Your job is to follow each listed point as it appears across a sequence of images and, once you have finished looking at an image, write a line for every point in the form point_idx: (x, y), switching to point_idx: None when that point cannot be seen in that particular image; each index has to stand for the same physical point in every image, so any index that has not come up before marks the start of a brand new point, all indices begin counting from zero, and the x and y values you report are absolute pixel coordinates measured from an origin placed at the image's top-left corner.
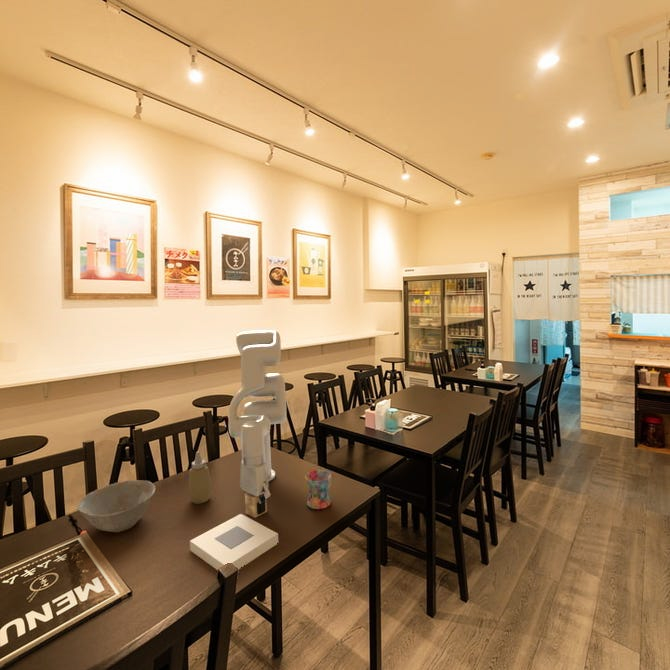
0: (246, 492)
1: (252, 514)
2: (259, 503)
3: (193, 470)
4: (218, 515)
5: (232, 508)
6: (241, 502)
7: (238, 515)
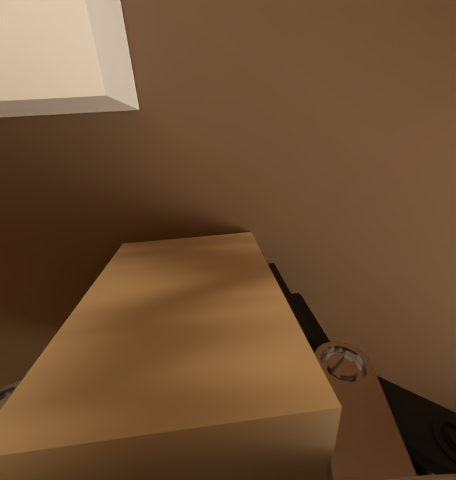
0: (355, 430)
1: (154, 248)
2: (12, 387)
3: None
4: (444, 19)
5: (404, 196)
6: (400, 288)
7: (73, 28)
